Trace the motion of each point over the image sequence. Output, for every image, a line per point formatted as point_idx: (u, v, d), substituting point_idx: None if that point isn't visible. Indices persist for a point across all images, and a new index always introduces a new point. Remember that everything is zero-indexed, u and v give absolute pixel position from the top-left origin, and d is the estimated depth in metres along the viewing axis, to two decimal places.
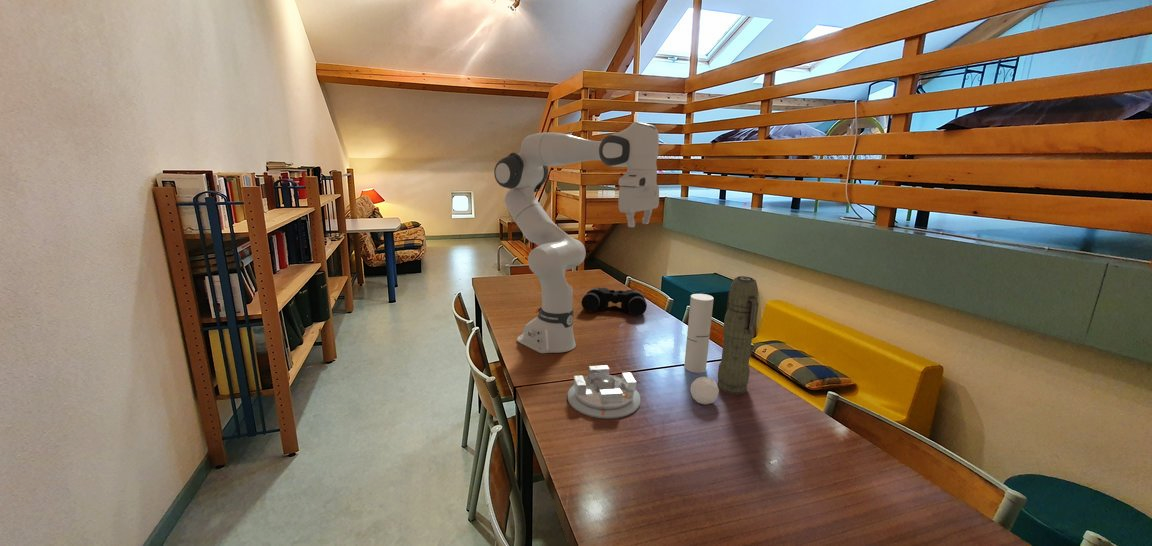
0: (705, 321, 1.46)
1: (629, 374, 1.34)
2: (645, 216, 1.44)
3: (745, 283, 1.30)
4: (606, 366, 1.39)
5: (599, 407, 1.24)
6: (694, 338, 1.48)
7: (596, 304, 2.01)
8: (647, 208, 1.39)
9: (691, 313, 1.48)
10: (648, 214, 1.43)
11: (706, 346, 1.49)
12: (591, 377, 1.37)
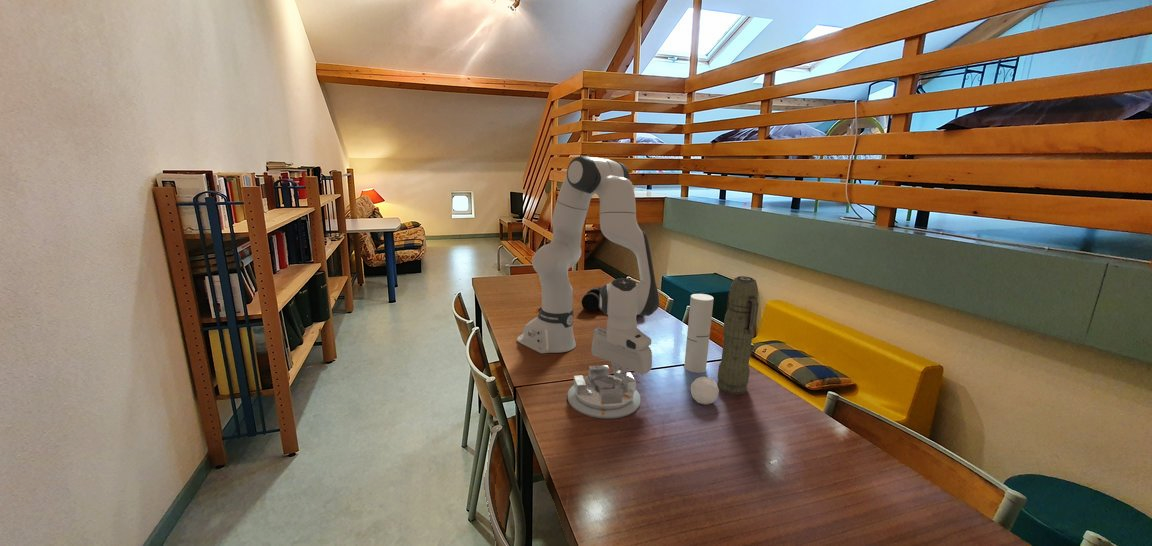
0: (705, 321, 1.46)
1: (629, 374, 1.34)
2: (616, 370, 1.37)
3: (745, 283, 1.30)
4: (606, 366, 1.39)
5: (599, 407, 1.24)
6: (694, 338, 1.48)
7: (596, 304, 2.02)
8: None
9: (691, 313, 1.48)
10: (617, 366, 1.38)
11: (706, 346, 1.49)
12: (591, 377, 1.37)
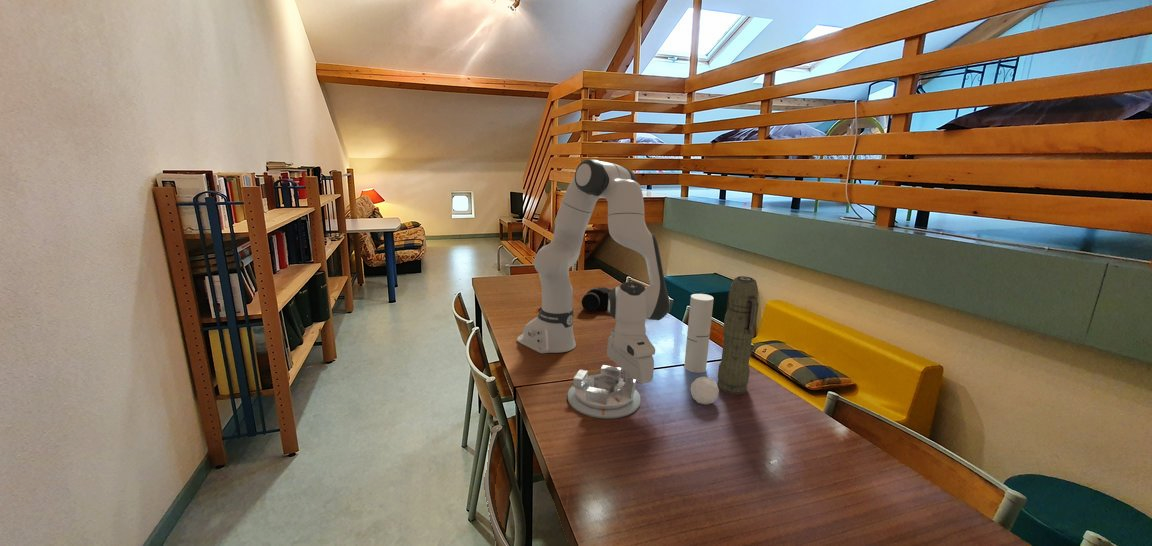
0: (705, 321, 1.46)
1: (632, 381, 1.30)
2: (625, 375, 1.34)
3: (745, 283, 1.30)
4: (619, 369, 1.37)
5: (585, 403, 1.26)
6: (694, 338, 1.48)
7: (596, 304, 2.02)
8: None
9: (691, 313, 1.48)
10: None
11: (706, 346, 1.49)
12: (601, 376, 1.38)
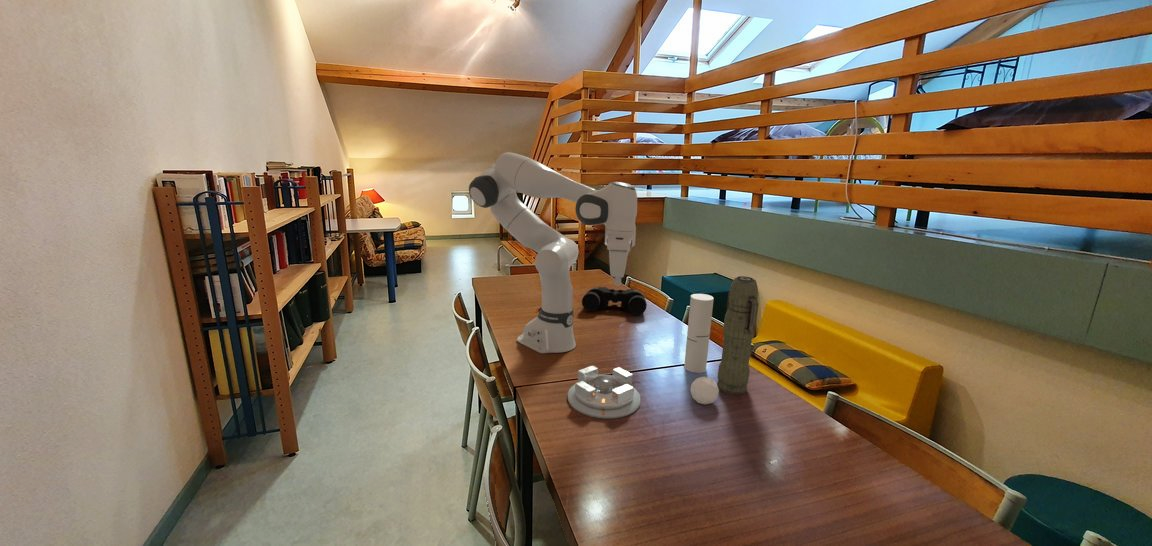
0: (705, 321, 1.46)
1: (628, 387, 1.26)
2: None
3: (745, 283, 1.30)
4: (629, 374, 1.34)
5: (576, 396, 1.30)
6: (694, 338, 1.48)
7: (597, 303, 2.02)
8: None
9: (691, 313, 1.48)
10: None
11: (706, 346, 1.49)
12: (613, 377, 1.37)
